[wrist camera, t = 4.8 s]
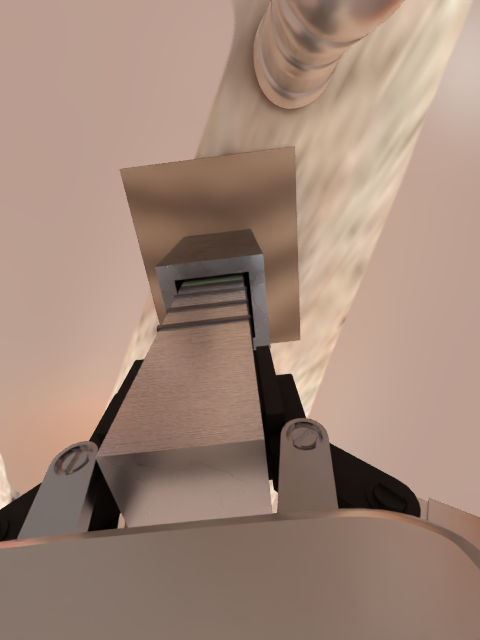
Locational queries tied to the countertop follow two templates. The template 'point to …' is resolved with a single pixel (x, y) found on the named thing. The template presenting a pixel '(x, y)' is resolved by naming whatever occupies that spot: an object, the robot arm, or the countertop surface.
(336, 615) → the robot arm
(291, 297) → the stand
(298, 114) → the countertop surface
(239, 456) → the steel post
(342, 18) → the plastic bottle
